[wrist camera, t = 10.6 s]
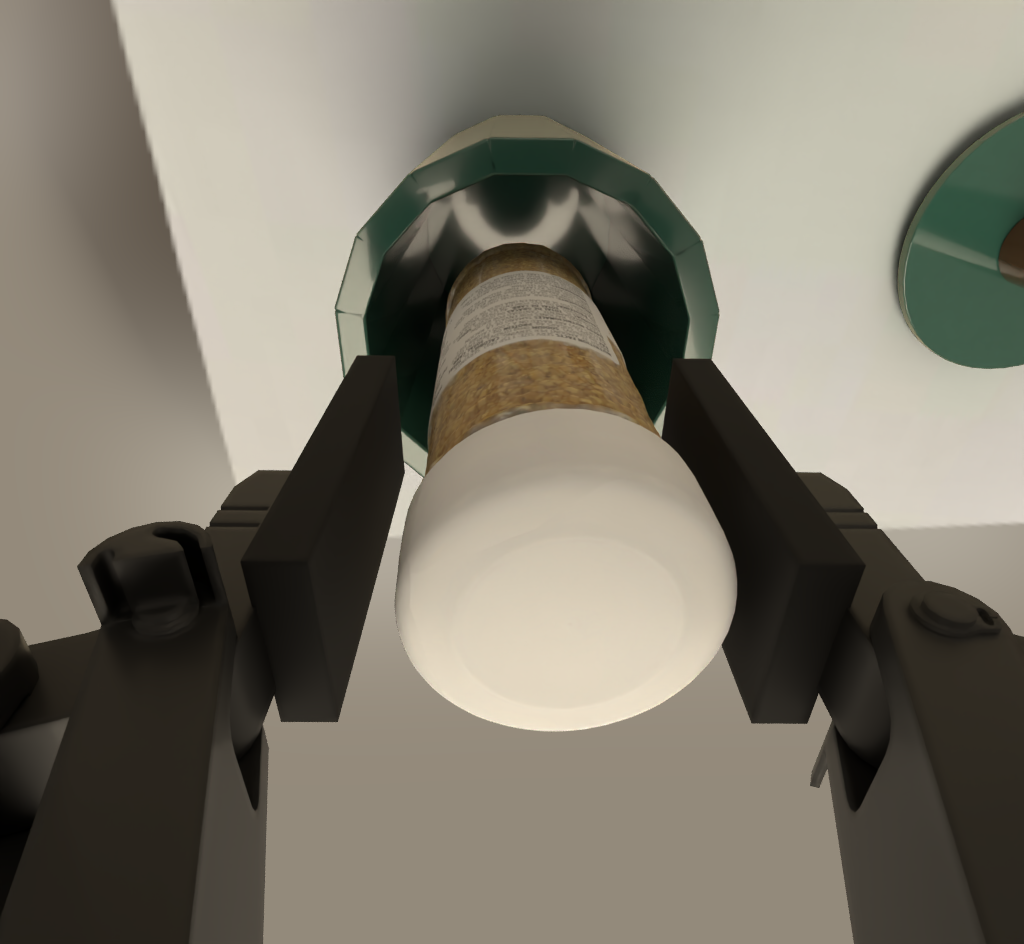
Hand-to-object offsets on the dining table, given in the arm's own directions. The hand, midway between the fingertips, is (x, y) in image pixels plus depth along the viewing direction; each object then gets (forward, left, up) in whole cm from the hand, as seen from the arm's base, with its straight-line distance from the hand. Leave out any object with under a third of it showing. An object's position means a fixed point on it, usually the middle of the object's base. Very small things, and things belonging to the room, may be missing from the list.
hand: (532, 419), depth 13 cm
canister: (0, 0, -20) cm, 20 cm away
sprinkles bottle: (0, 0, -8) cm, 8 cm away
